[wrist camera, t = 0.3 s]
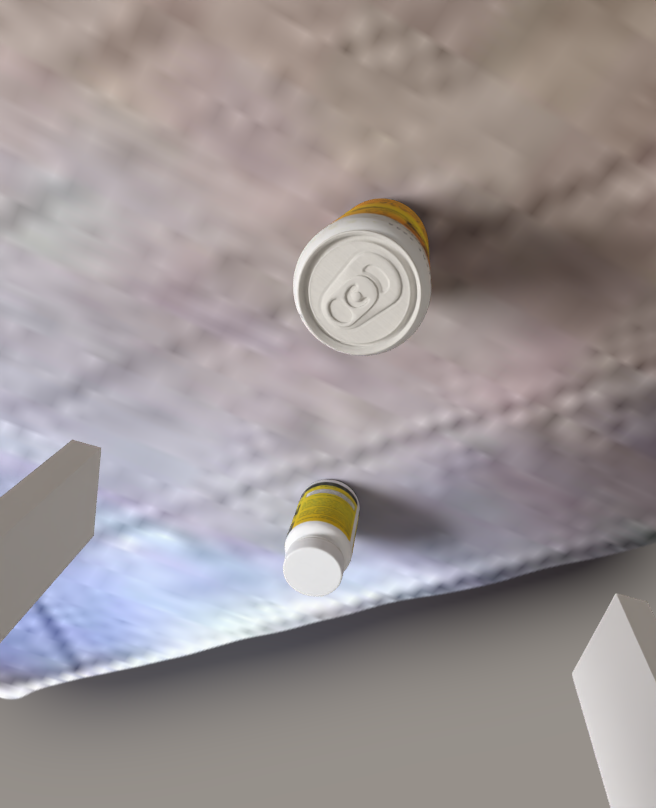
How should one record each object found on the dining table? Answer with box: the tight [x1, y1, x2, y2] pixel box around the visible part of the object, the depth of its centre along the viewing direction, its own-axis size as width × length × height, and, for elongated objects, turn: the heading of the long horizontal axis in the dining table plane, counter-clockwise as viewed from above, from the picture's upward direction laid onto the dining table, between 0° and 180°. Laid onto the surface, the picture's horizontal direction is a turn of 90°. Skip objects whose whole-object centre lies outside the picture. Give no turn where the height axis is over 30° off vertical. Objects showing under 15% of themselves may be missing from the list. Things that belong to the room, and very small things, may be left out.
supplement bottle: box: [283, 480, 360, 596], centre depth 43 cm, size 5×5×8 cm
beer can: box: [293, 199, 431, 356], centre depth 32 cm, size 6×6×15 cm
